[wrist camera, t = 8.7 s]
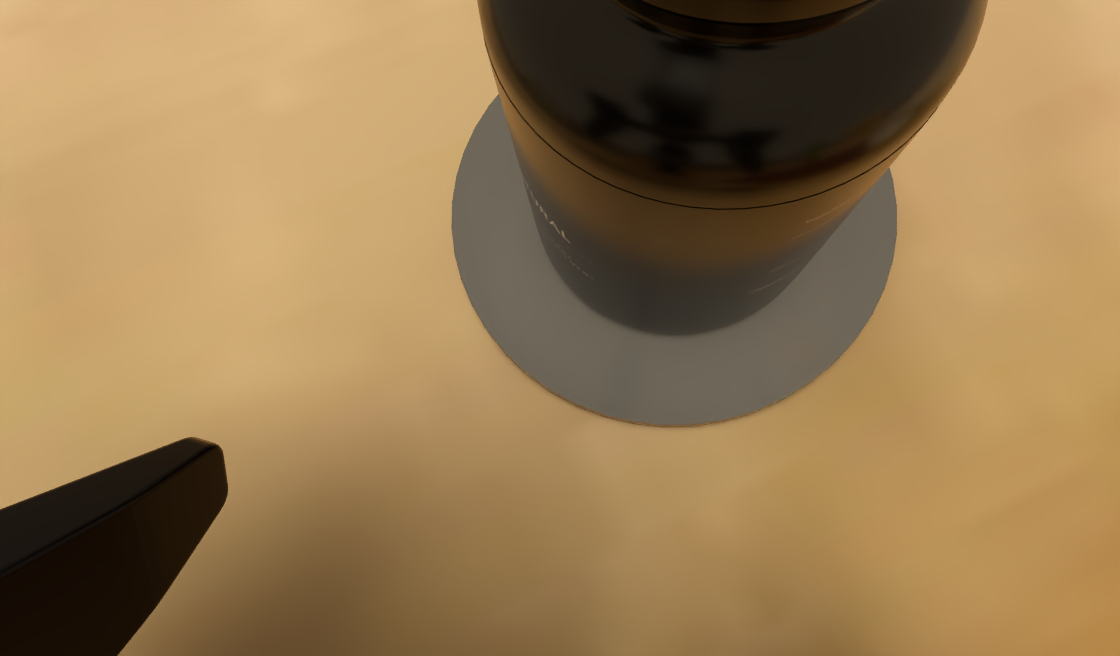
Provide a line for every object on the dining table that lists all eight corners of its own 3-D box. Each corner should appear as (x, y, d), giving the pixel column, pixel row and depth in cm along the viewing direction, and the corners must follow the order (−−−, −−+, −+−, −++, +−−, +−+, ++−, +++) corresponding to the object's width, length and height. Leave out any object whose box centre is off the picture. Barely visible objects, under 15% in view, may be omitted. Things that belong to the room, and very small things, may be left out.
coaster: (793, 506, 16) (799, 505, 15) (383, 317, 18) (375, 311, 17) (947, 110, 18) (958, 97, 17) (565, -20, 20) (563, -36, 19)
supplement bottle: (484, 249, 18) (222, -257, 6) (633, 46, 19) (659, -713, 7) (721, 400, 16) (986, 124, 5) (867, 172, 17) (1382, -520, 6)
